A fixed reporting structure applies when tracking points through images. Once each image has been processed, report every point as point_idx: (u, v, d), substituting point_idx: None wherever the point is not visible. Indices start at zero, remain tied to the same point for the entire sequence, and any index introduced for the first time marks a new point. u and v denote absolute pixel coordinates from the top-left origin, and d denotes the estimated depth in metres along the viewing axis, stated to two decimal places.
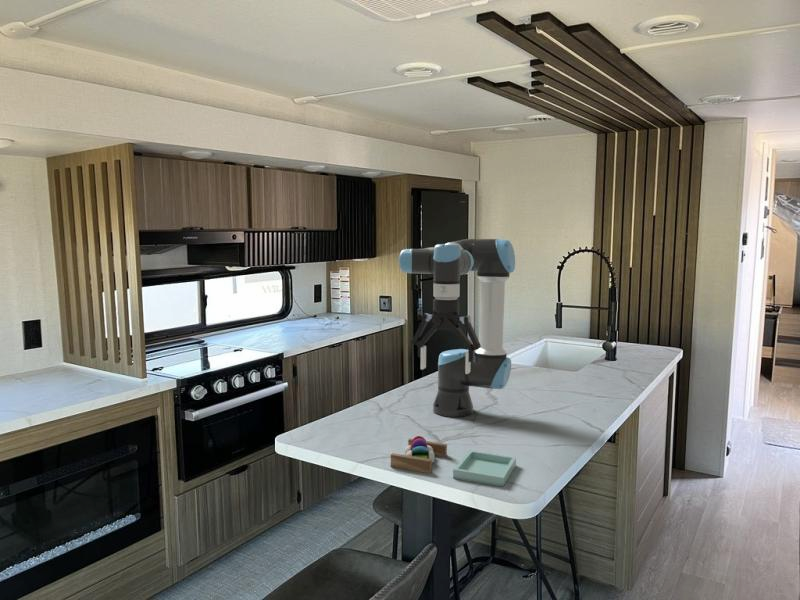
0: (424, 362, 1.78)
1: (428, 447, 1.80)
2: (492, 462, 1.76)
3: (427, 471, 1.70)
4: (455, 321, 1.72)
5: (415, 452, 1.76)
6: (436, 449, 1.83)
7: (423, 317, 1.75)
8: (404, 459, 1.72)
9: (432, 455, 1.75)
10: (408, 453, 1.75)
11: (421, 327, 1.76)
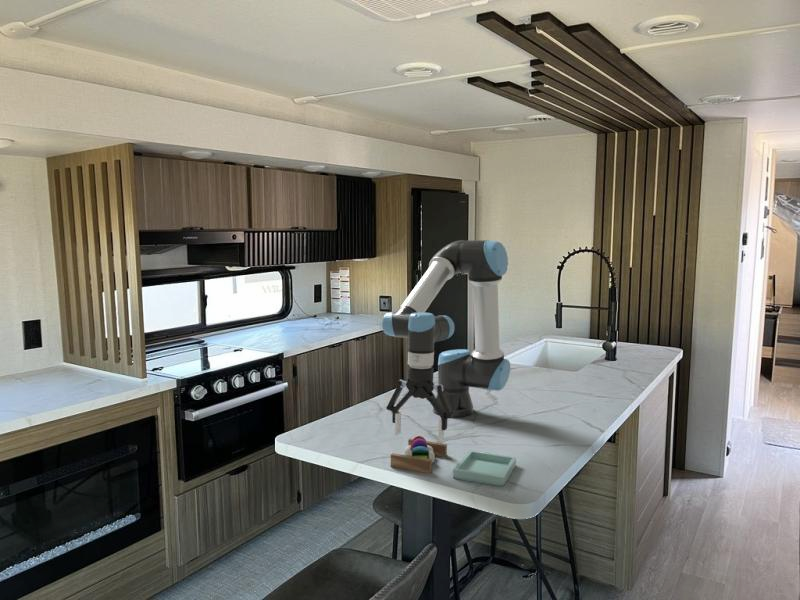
0: (399, 428, 1.80)
1: (428, 447, 1.80)
2: (492, 462, 1.76)
3: (427, 471, 1.70)
4: (429, 389, 1.74)
5: (415, 452, 1.76)
6: (436, 449, 1.83)
7: (398, 384, 1.77)
8: (404, 459, 1.72)
9: (432, 455, 1.75)
10: (408, 453, 1.75)
11: (396, 394, 1.78)
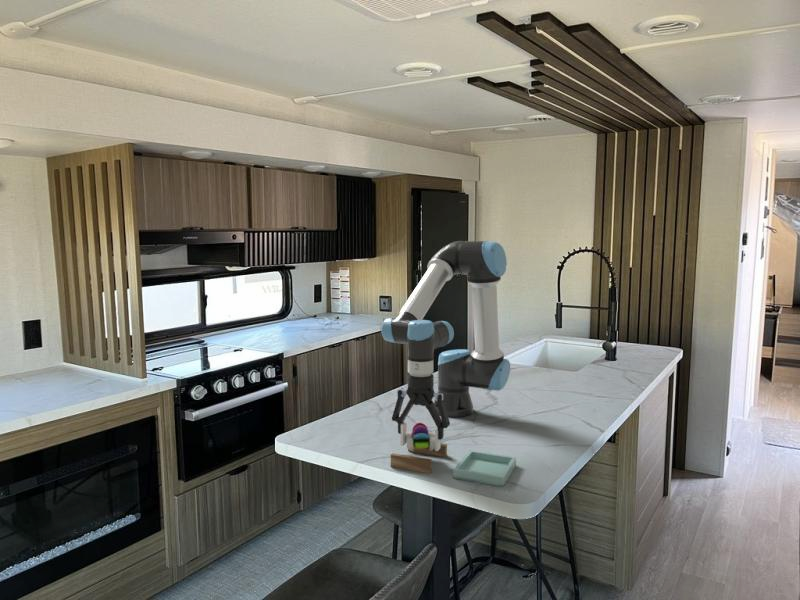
0: (404, 438, 1.80)
1: (429, 434, 1.80)
2: (492, 462, 1.76)
3: (427, 471, 1.70)
4: (429, 397, 1.74)
5: (416, 439, 1.76)
6: None
7: (398, 393, 1.78)
8: (404, 459, 1.72)
9: (433, 442, 1.75)
10: (409, 440, 1.75)
11: (398, 403, 1.78)
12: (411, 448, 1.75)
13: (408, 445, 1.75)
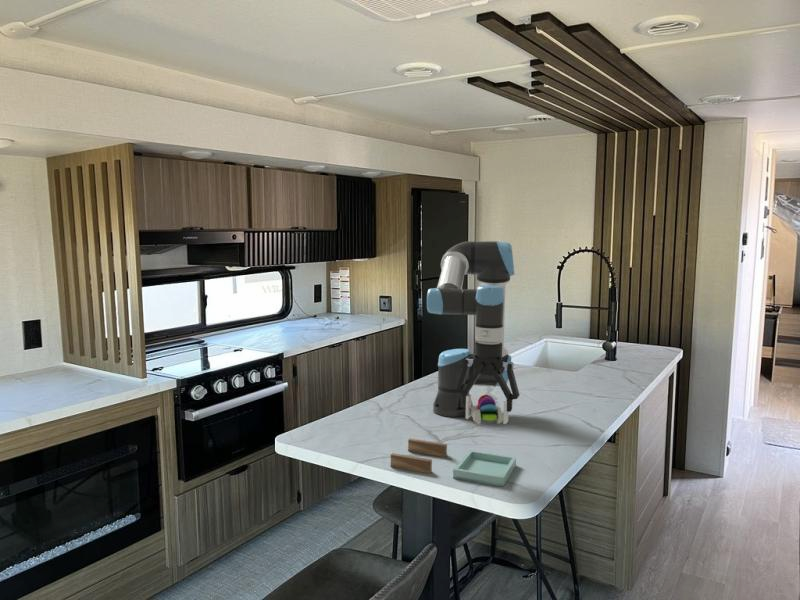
0: (469, 411, 1.71)
1: (496, 406, 1.70)
2: (492, 462, 1.76)
3: (427, 471, 1.70)
4: (498, 366, 1.65)
5: (483, 411, 1.67)
6: (436, 449, 1.83)
7: (464, 363, 1.69)
8: (404, 459, 1.72)
9: (501, 414, 1.66)
10: (476, 412, 1.66)
11: (464, 373, 1.69)
12: (478, 420, 1.65)
13: (475, 417, 1.66)
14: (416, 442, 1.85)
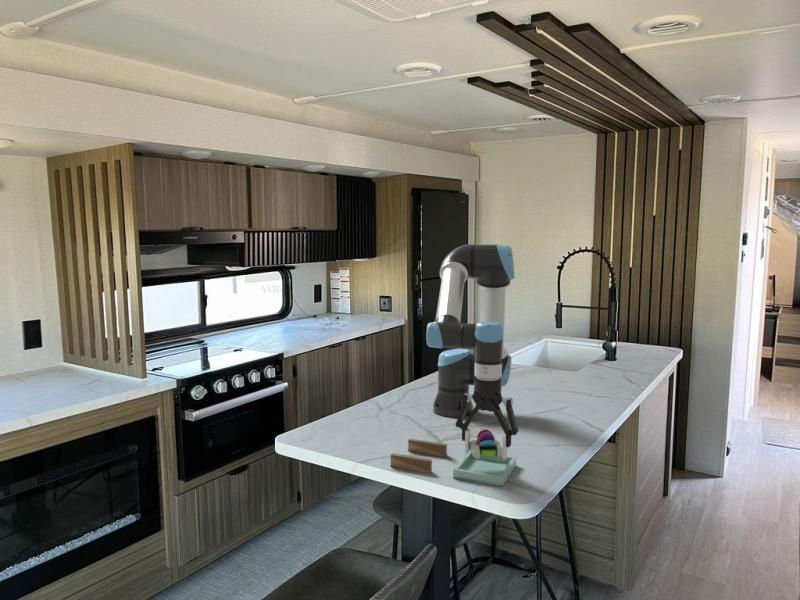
0: (468, 445, 1.72)
1: (495, 441, 1.71)
2: (492, 462, 1.76)
3: (427, 471, 1.70)
4: (497, 402, 1.66)
5: (482, 446, 1.68)
6: (436, 449, 1.83)
7: (463, 398, 1.70)
8: (404, 459, 1.72)
9: (501, 449, 1.67)
10: (475, 447, 1.67)
11: (463, 409, 1.70)
12: (478, 456, 1.66)
13: (474, 453, 1.67)
14: (416, 442, 1.85)
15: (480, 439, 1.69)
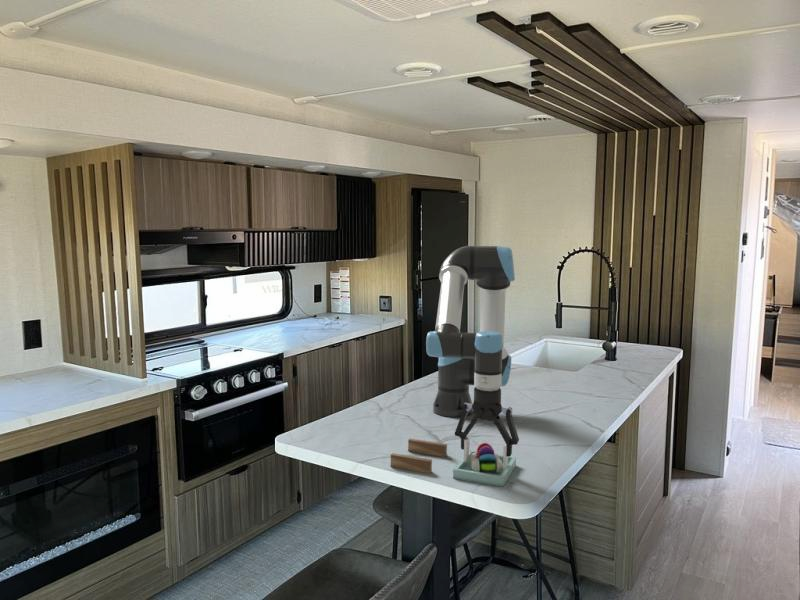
0: (467, 454, 1.73)
1: (494, 455, 1.72)
2: None
3: (427, 471, 1.70)
4: (496, 412, 1.67)
5: (482, 460, 1.68)
6: (436, 449, 1.83)
7: (463, 407, 1.70)
8: (404, 459, 1.72)
9: (500, 463, 1.68)
10: (475, 461, 1.68)
11: (463, 418, 1.71)
12: (477, 470, 1.67)
13: (474, 467, 1.67)
14: (416, 442, 1.85)
15: (480, 453, 1.69)
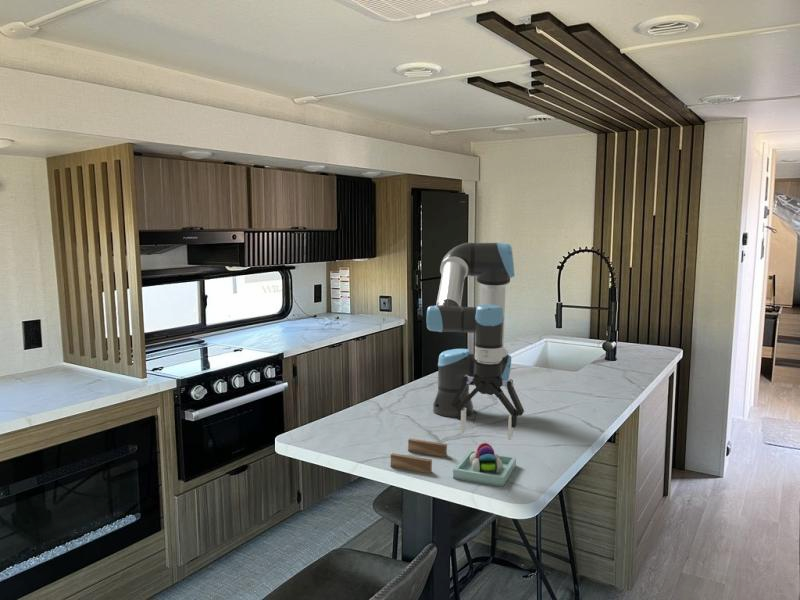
0: (464, 425, 1.72)
1: (495, 455, 1.72)
2: None
3: (427, 471, 1.70)
4: (498, 385, 1.66)
5: (482, 460, 1.68)
6: (436, 449, 1.83)
7: (464, 380, 1.69)
8: (404, 459, 1.72)
9: (500, 463, 1.68)
10: (475, 461, 1.68)
11: (461, 390, 1.70)
12: (477, 470, 1.67)
13: (474, 467, 1.67)
14: (416, 442, 1.85)
15: (480, 453, 1.69)
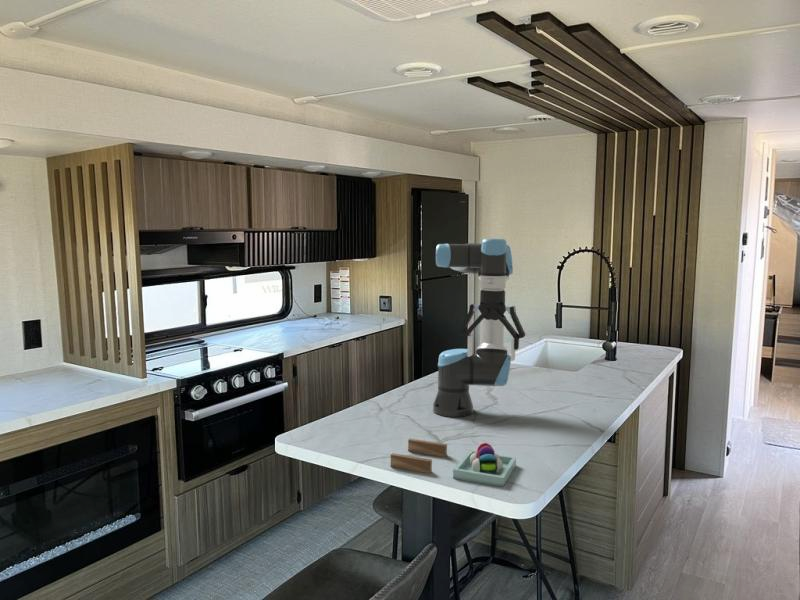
0: (471, 350, 1.89)
1: (495, 455, 1.72)
2: None
3: (427, 471, 1.70)
4: (501, 311, 1.83)
5: (482, 460, 1.68)
6: (436, 449, 1.83)
7: (470, 307, 1.86)
8: (404, 459, 1.72)
9: (500, 463, 1.68)
10: (475, 461, 1.68)
11: (468, 317, 1.87)
12: (478, 470, 1.67)
13: (474, 467, 1.67)
14: (416, 442, 1.85)
15: (480, 453, 1.69)
